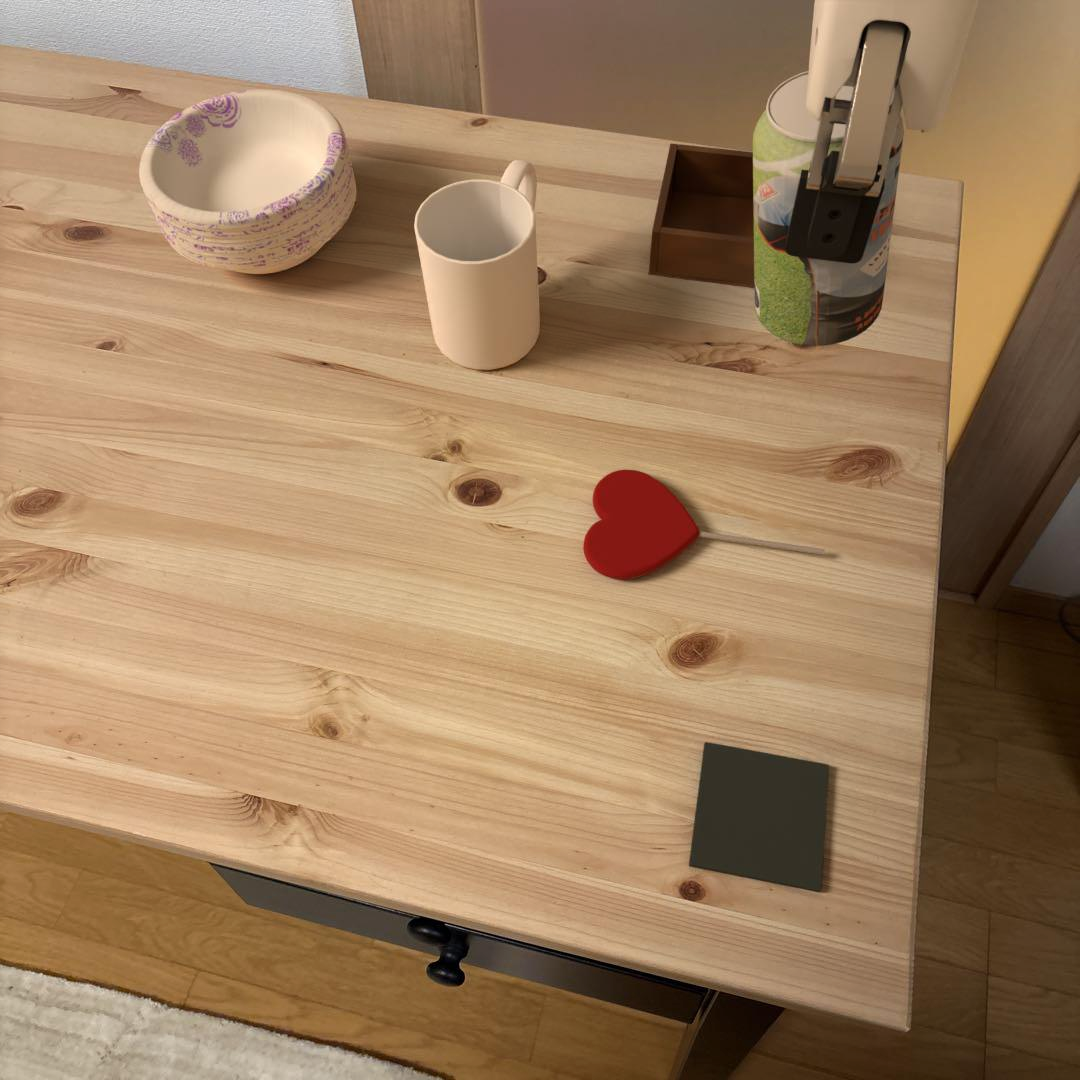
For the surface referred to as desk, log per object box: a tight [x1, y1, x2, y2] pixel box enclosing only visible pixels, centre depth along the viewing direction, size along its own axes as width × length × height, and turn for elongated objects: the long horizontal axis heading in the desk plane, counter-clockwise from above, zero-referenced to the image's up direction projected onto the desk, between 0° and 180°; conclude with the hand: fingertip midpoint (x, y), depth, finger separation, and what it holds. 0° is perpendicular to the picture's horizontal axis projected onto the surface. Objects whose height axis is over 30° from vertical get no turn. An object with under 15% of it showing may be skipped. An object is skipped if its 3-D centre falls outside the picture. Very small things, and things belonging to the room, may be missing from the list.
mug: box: [413, 159, 541, 371], centre depth 70 cm, size 12×8×10 cm, turn 156°
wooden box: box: [648, 142, 755, 289], centre depth 76 cm, size 11×10×4 cm
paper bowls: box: [138, 88, 357, 275], centre depth 77 cm, size 15×15×8 cm
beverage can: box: [752, 70, 905, 347], centre depth 45 cm, size 6×7×12 cm
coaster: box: [688, 741, 830, 893], centre depth 55 cm, size 7×7×1 cm
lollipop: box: [582, 469, 825, 580], centre depth 64 cm, size 8×1×15 cm
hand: (829, 197), depth 44 cm, fingers closed on beverage can, 6 cm apart
